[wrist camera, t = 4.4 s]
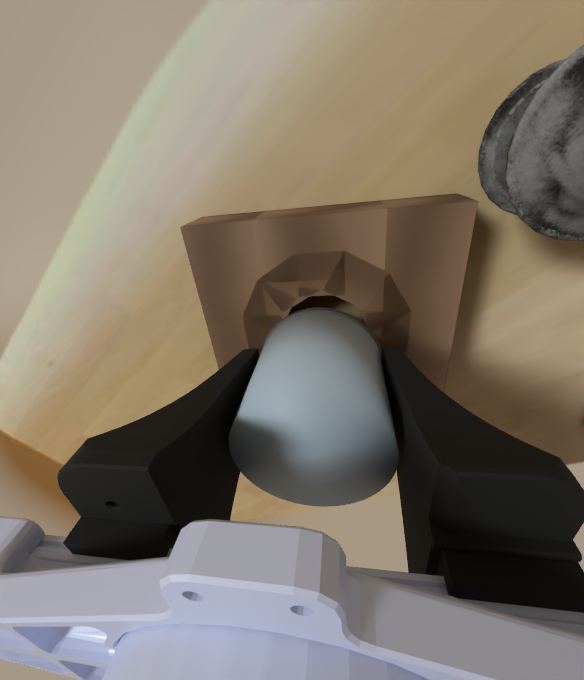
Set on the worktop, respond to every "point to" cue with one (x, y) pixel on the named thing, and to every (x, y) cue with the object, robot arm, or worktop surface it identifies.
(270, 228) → the board
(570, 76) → the grey flared cylinder
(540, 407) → the worktop surface
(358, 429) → the peg
